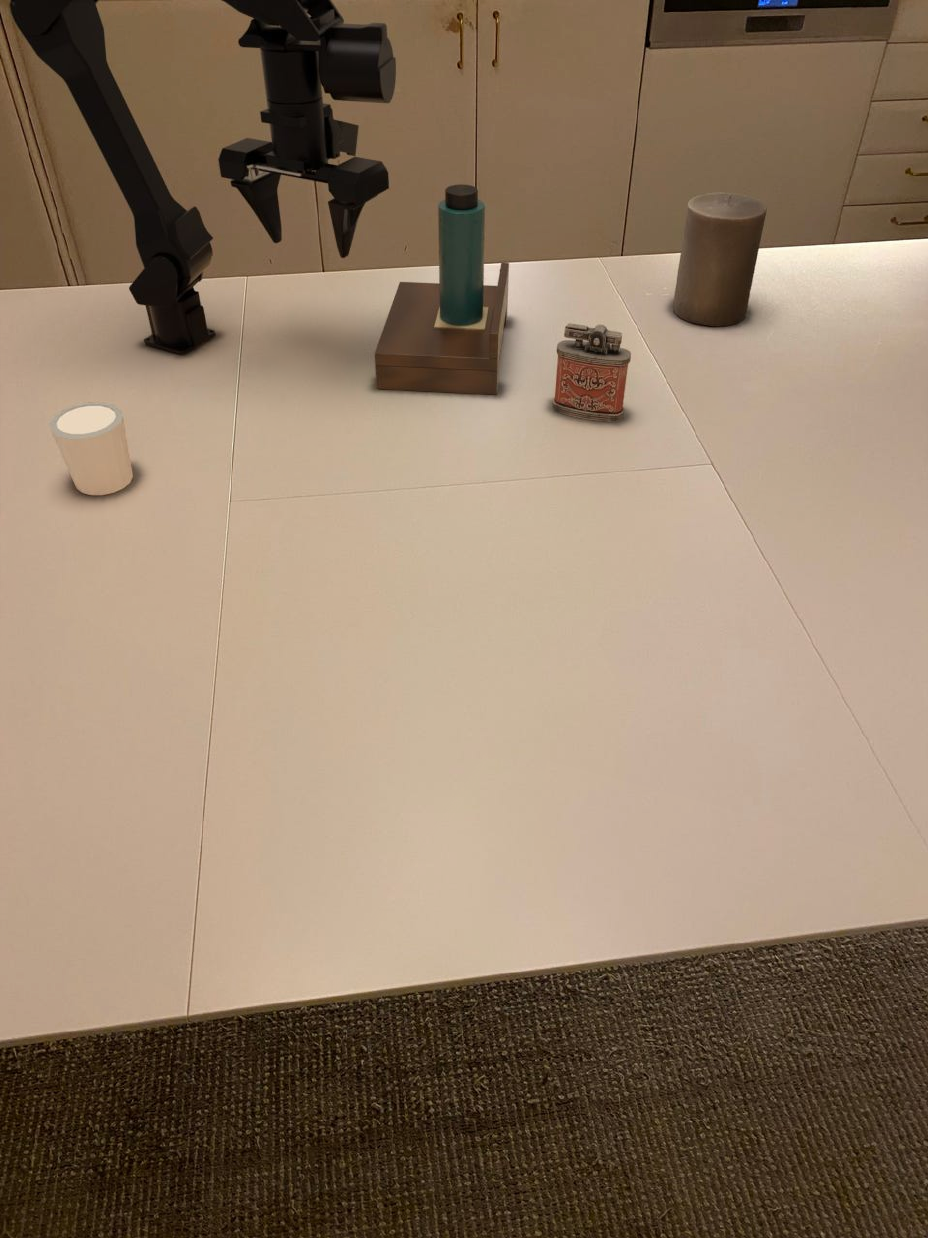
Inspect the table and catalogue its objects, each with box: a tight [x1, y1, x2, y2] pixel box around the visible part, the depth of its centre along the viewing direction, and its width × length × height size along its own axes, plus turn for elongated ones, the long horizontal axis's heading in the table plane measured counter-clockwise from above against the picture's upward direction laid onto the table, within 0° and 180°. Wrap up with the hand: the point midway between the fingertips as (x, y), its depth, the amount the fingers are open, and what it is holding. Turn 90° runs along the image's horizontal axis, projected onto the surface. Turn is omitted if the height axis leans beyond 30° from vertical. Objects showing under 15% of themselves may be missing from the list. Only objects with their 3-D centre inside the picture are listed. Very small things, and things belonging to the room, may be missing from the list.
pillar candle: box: [672, 191, 768, 327], centre depth 122 cm, size 10×10×15 cm
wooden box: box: [374, 262, 510, 396], centre depth 115 cm, size 14×20×8 cm
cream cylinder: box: [49, 402, 134, 496], centre depth 94 cm, size 7×7×7 cm
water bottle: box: [437, 184, 486, 326], centre depth 109 cm, size 5×5×15 cm
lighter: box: [552, 322, 632, 423], centre depth 104 cm, size 8×3×10 cm, turn 71°
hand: (310, 249), depth 108 cm, fingers open, 9 cm apart
